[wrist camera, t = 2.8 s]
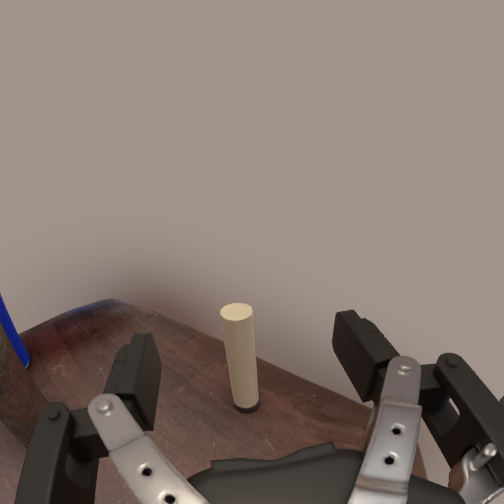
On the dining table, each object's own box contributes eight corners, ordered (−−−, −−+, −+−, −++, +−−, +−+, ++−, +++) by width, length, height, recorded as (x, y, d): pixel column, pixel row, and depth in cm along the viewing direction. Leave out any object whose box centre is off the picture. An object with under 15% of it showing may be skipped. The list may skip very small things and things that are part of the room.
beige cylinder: (253, 392, 30) (245, 299, 26) (263, 408, 28) (257, 315, 23) (230, 399, 29) (216, 307, 25) (239, 416, 27) (226, 323, 22)
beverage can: (35, 357, 34) (0, 276, 28) (22, 377, 29) (-20, 292, 23) (17, 354, 33) (-17, 277, 28) (4, 372, 28) (-36, 292, 23)
